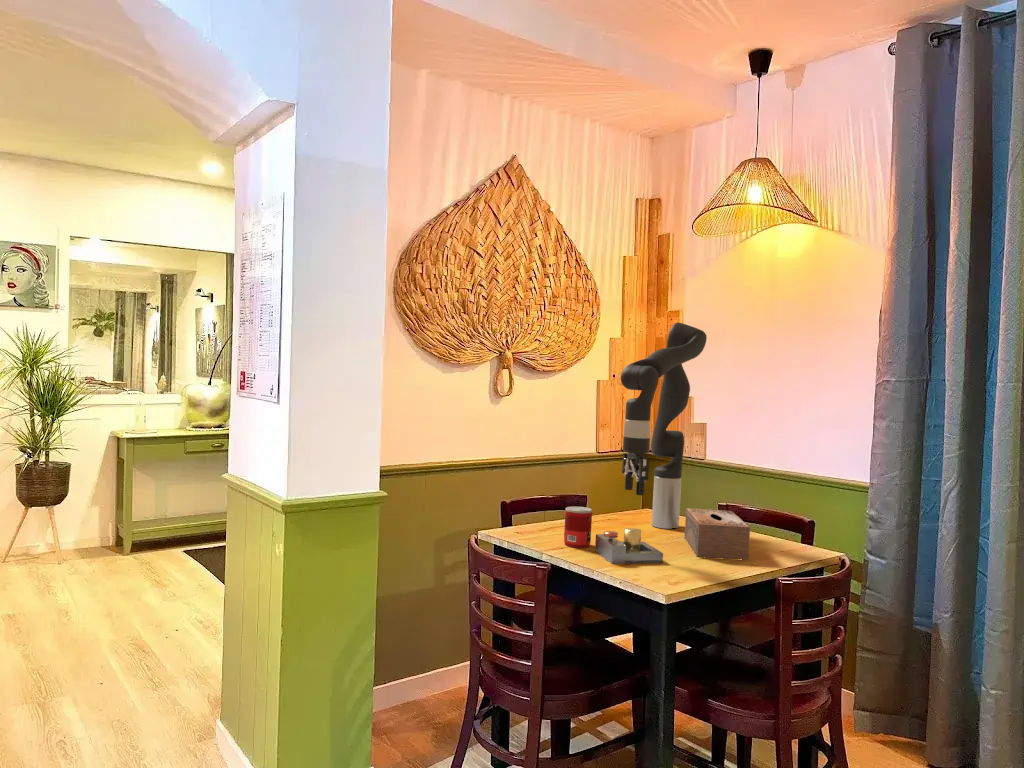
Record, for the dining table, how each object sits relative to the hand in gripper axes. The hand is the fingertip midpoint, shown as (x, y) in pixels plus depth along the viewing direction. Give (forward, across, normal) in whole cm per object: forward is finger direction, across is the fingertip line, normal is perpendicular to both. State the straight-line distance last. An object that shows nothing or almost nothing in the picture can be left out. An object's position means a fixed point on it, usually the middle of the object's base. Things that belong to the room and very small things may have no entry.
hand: (633, 492), depth 218 cm
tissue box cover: (+19, +9, -31) cm, 37 cm away
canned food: (+19, +15, +11) cm, 26 cm away
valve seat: (+19, 0, +1) cm, 19 cm away
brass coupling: (+18, 0, 0) cm, 18 cm away
